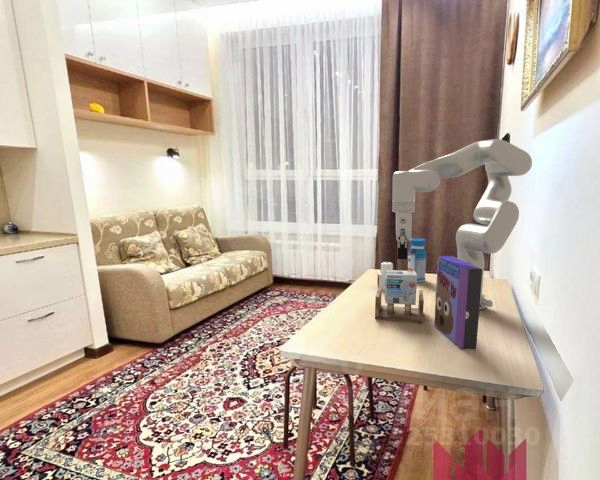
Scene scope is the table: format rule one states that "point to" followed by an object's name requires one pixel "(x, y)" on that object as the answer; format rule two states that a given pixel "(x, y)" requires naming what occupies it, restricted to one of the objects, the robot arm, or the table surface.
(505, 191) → the robot arm
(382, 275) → the medicine bottle
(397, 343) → the table surface
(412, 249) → the beverage bottle
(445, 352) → the table surface
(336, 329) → the table surface
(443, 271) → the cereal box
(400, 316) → the peg stand
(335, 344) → the table surface
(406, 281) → the light bulb box
